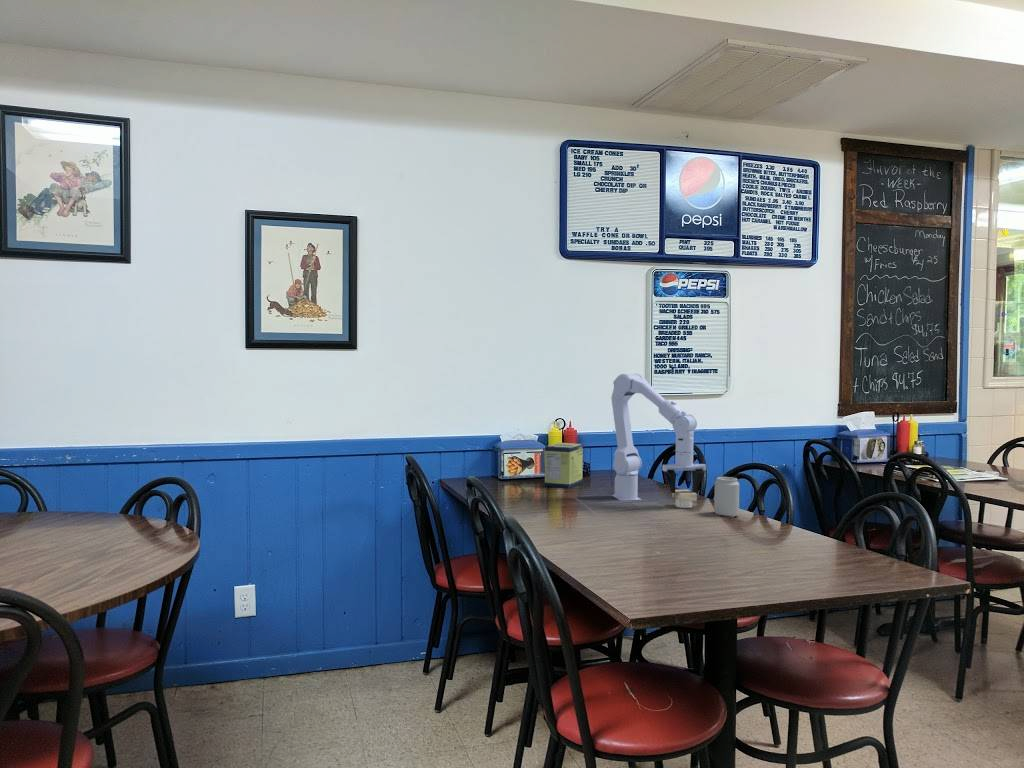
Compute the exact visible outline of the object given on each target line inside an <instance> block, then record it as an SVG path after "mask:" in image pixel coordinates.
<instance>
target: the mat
mask: <svg viewBox="0 0 1024 768" xmlns="http://www.w3.org/2000/svg"><path fill="white" fill-rule="evenodd" d="M630 504H631V505H633V506H634V507H636V508H637V509H639V510H641V511H651V510H653V511H655V510H657V511H658V510H668V508H667V507H666V506H663V505H662V504H660V503H658V502H656V501H645V502H643V501H642V502H641V501H640V502H630Z"/></svg>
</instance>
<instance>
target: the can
mask: <svg viewBox="0 0 1024 768" xmlns="http://www.w3.org/2000/svg"><path fill="white" fill-rule="evenodd" d="M716 479H717V480H715V482H714V499H713V500H714V504H713V505H714V506H713V507H714V509H713V510H714V514H716V515H717V516H718V515H719V516H725V517H732V518H735V516H736V517H737V516H738V515H739V514H740V483H739V481H738V478H737V477H732V476H730V477H729V476H719V477H716Z"/></svg>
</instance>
